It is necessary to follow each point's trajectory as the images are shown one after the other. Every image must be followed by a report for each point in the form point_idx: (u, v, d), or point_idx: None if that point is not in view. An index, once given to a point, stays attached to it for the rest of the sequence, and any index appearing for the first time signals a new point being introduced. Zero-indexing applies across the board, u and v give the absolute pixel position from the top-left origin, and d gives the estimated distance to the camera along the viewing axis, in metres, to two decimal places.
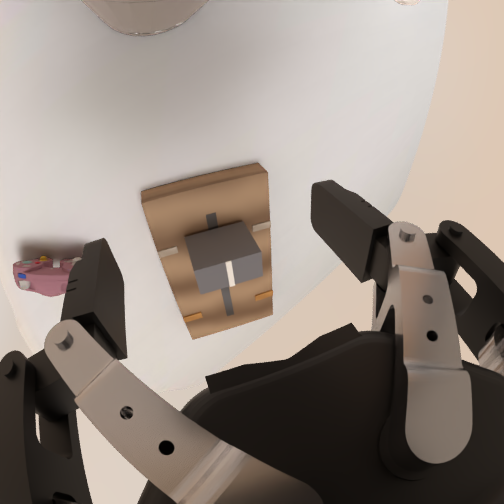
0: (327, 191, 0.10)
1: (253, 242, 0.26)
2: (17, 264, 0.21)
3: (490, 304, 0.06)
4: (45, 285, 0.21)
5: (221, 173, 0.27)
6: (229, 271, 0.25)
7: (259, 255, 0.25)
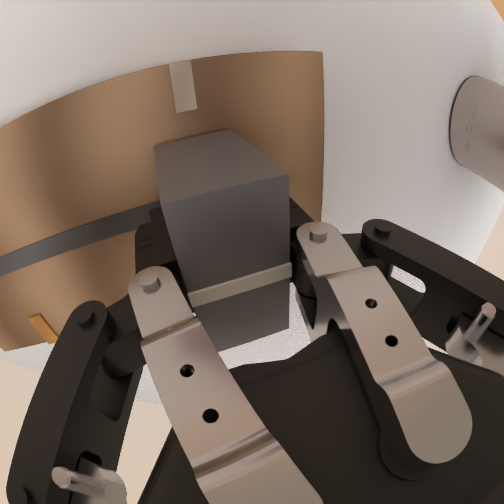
0: None
1: None
2: None
3: (445, 298, 0.06)
4: None
5: None
6: (250, 280, 0.08)
7: (279, 328, 0.10)
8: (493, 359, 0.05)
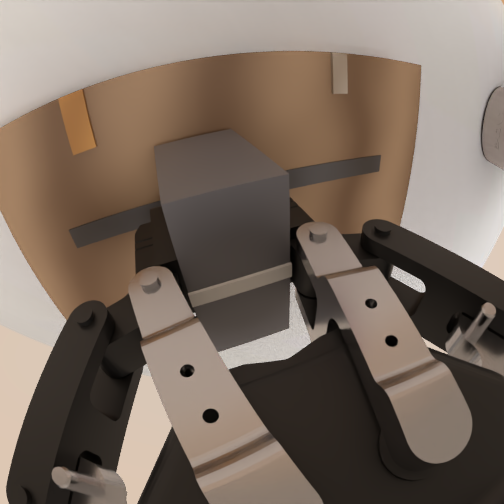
0: None
1: None
2: None
3: (445, 298, 0.06)
4: None
5: None
6: (250, 280, 0.08)
7: (280, 327, 0.10)
8: (493, 359, 0.05)
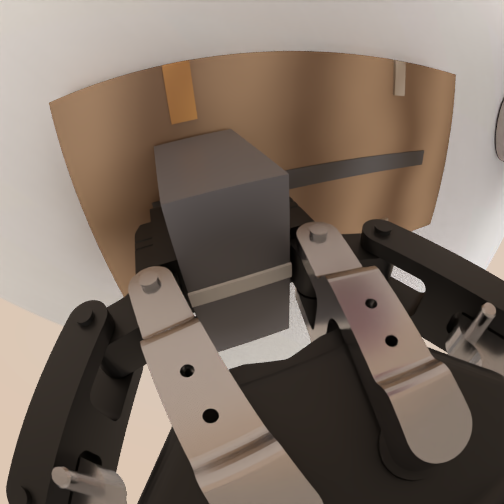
0: None
1: None
2: None
3: (445, 298, 0.06)
4: None
5: None
6: (250, 279, 0.08)
7: (279, 327, 0.10)
8: (493, 359, 0.05)
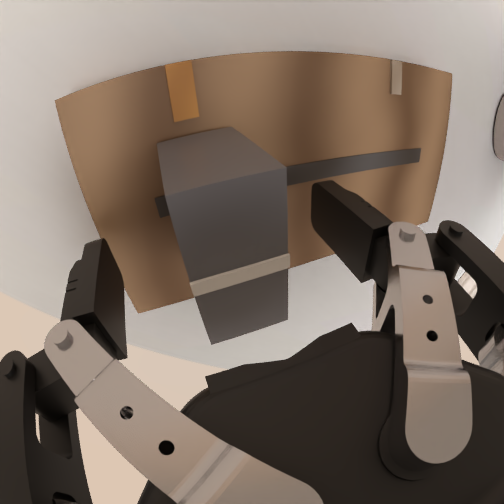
0: (327, 191, 0.10)
1: None
2: None
3: (490, 304, 0.06)
4: None
5: None
6: (249, 270, 0.08)
7: (278, 319, 0.10)
8: None
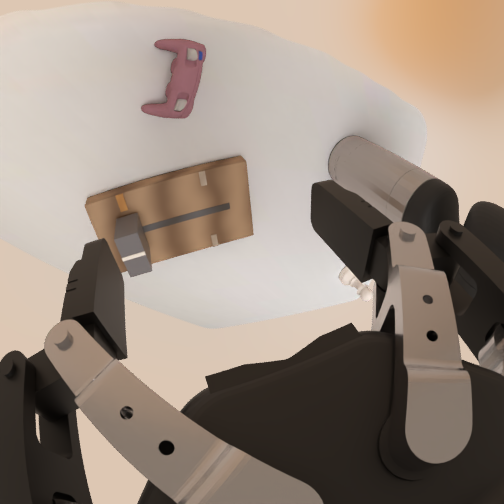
0: (327, 191, 0.10)
1: None
2: None
3: (490, 304, 0.06)
4: (192, 79, 0.25)
5: None
6: (135, 255, 0.33)
7: (149, 270, 0.35)
8: None
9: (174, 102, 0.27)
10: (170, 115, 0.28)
